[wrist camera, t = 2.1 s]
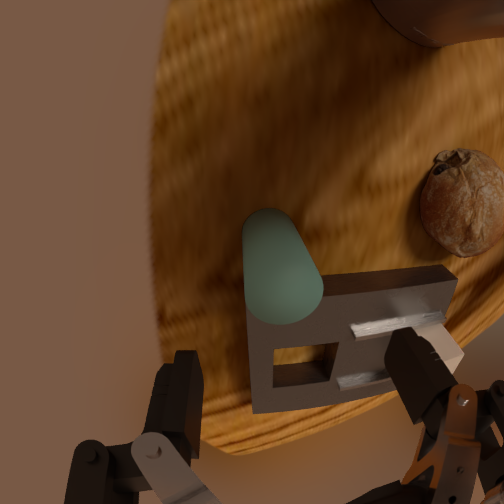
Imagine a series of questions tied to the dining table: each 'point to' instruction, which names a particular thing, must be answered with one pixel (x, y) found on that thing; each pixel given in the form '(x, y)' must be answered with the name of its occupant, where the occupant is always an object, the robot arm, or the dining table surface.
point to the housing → (345, 337)
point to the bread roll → (464, 202)
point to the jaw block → (442, 344)
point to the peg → (278, 269)
